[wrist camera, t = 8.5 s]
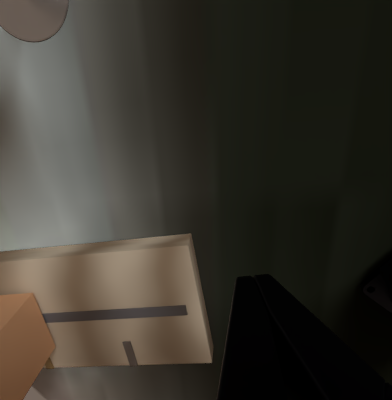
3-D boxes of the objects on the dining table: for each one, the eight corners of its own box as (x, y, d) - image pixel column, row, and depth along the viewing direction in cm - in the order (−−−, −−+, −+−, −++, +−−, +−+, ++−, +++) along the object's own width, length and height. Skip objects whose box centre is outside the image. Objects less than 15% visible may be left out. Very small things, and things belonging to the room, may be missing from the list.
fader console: (191, 233, 23) (187, 246, 21) (213, 346, 26) (211, 363, 25) (-21, 253, 25) (-36, 266, 24) (27, 353, 29) (16, 369, 28)
